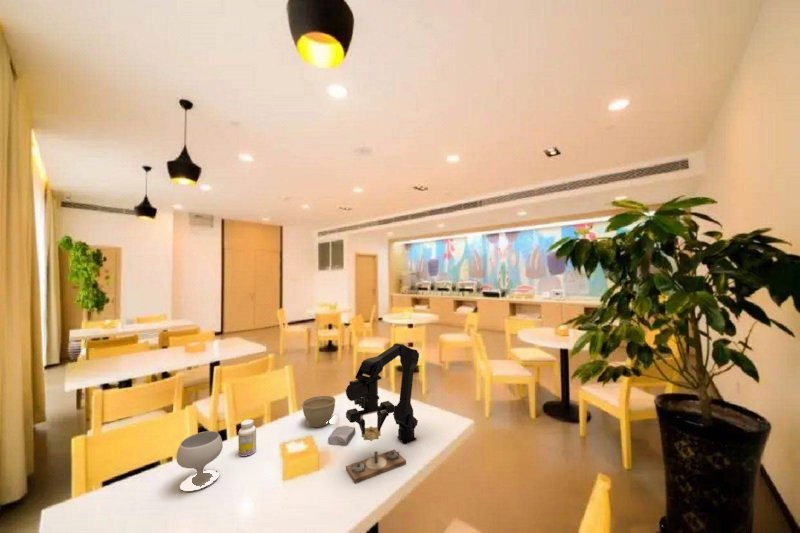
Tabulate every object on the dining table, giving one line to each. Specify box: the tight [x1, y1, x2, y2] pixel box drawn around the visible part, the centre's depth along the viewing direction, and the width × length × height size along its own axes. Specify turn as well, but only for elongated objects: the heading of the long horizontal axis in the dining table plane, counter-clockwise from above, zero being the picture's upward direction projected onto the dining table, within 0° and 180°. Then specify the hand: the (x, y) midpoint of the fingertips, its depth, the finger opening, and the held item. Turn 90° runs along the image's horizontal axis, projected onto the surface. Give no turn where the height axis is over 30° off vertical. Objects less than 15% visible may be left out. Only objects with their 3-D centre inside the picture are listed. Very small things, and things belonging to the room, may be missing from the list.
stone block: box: [327, 425, 356, 447], centre depth 137 cm, size 12×5×10 cm
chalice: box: [176, 430, 223, 487], centre depth 110 cm, size 14×14×15 cm
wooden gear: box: [361, 425, 382, 442], centre depth 119 cm, size 7×7×2 cm
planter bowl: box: [301, 395, 336, 428], centre depth 152 cm, size 16×16×11 cm
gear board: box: [345, 449, 407, 485], centre depth 115 cm, size 21×9×6 cm, turn 120°
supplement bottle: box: [237, 419, 257, 457], centre depth 127 cm, size 7×7×13 cm
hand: (371, 433), depth 119 cm, fingers closed on wooden gear, 6 cm apart
